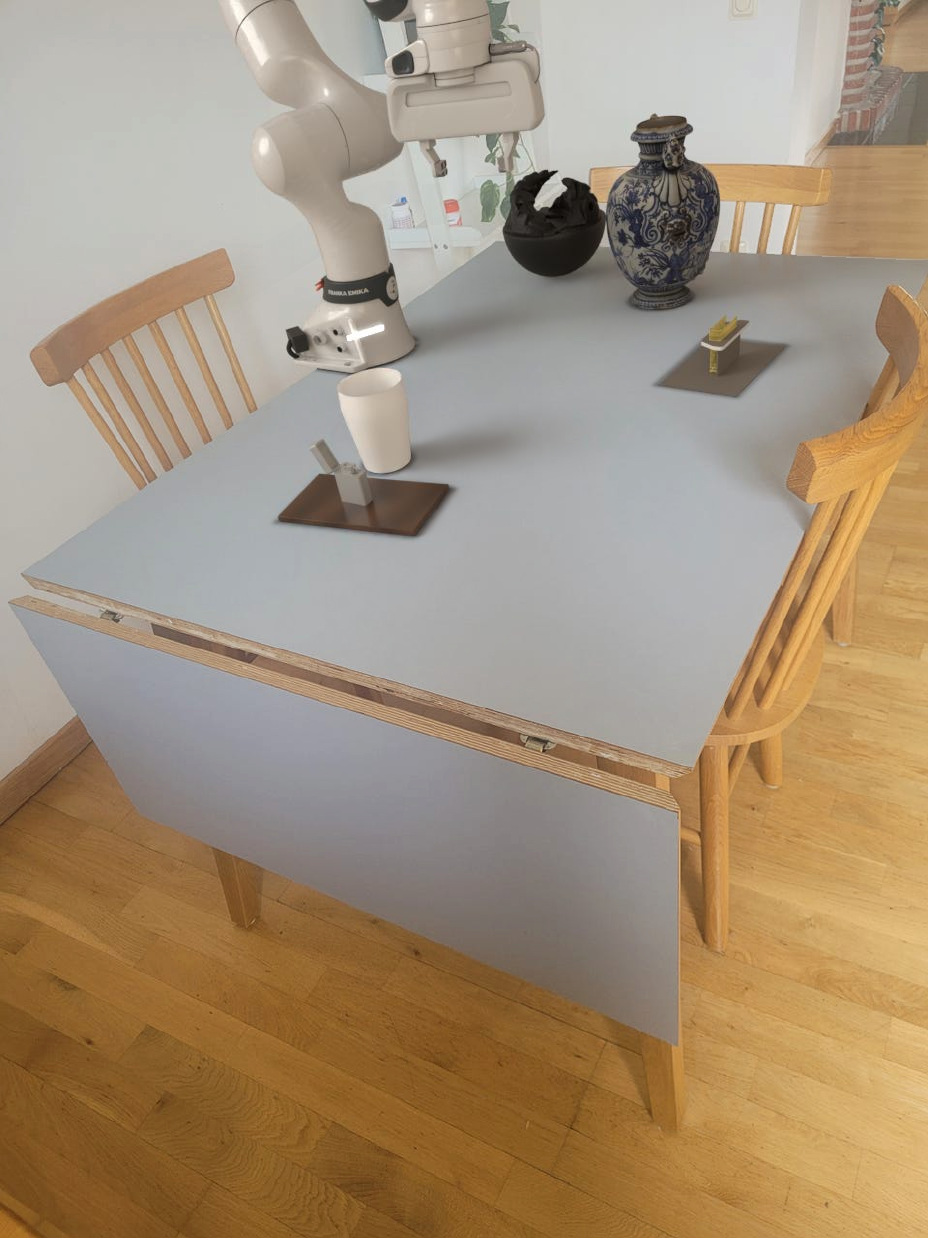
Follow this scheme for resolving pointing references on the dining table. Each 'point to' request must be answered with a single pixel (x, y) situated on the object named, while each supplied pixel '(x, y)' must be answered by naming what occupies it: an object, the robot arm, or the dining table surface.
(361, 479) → the lighter
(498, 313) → the dining table surface
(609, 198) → the decorative vase
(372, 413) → the cup
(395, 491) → the walnut board
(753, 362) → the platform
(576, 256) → the coal bowl
